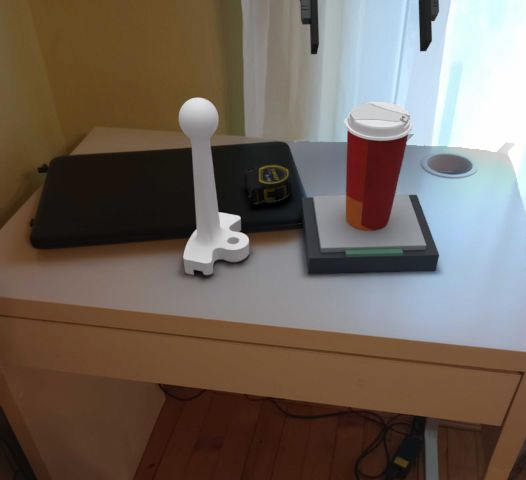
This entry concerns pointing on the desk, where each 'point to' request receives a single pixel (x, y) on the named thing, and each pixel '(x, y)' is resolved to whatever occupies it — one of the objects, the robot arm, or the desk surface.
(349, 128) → the paper cup
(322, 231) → the scale
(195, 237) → the joystick
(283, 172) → the tape measure
